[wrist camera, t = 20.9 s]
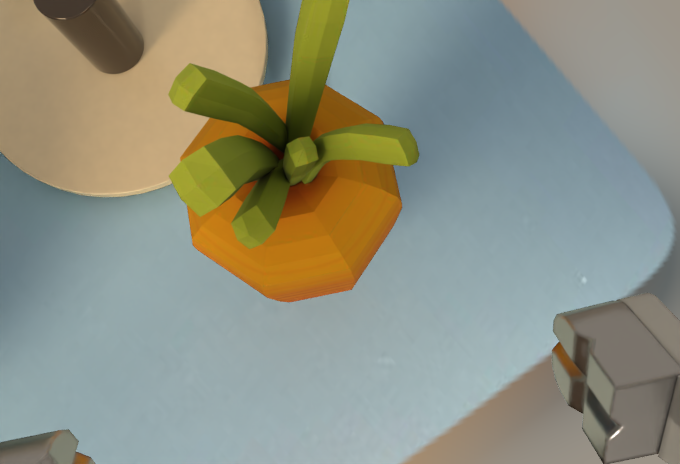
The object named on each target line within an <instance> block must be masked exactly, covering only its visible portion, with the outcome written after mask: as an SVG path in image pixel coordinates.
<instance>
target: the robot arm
mask: <svg viewBox="0 0 680 464" xmlns="http://www.w3.org/2000/svg"><path fill="white" fill-rule="evenodd" d="M553 332H554V334H555V335H556V337H557V338H558V340H559V342H558V344H557V345H556V346H555V347H554V349H553V350H552V367H553V371H554V375H555V380H556V382H557V385H558V387H559V389H560V391H561V393H562V395H563V397H564V399H565V400H566V402H567V404H568V405H569V406H570V407H572V408H574V409H576V410H577V411H579V412H581V413H583V423H582V429H583V431H584V432H585V434H586V436H587V437H588V439H589V441H590V442H591V444H592V446H593V447H594V449H595V451H596V452H597V454H598V456H599V457H600V459H601V461H602V462H603V464H610V463H614V462H619V461H624V460H629V459H635V458H639V457H644V456H649V455H654V454H659V455H658V457H659V458H661V459H662V460H664V461H665V462H667V463H668V464H680V321H679V320H678V318H677V317H676V316H675V315H673V313H672V312H671V311H670V310H669V309H668V308H667V307H666V306H665V305H664V304H663V303H662V302H661V301H660V300H659V299H658V298H657V297H656V296H654V295H652V294H650V293H643V294H639V295H635V296H631V297H627V298H622V299H618V300H616V301H609V302H605V303H601V304H596V305H592V306H588V307H584V308H580V309H576V310H572V311H568V312H564V313H560V314H557V315H556V317H555V319H554V323H553ZM78 442H79V441H78V440H77V439H76V437H75V436H74V435H73V434H72V433H71V432H70V430H69V429H68V430H58V431H53V432H48V433H43V434H38V435H34V436H29V437H24V438H19V439H14V440H9V441H4V442H1V443H0V464H95V462H94V461H93V460H92V458H91V457H89V456H86V455H84V454H81V453H79V452H76V449H77V446H78Z"/></svg>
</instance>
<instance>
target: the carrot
mask: <svg viewBox="0 0 680 464" xmlns="http://www.w3.org/2000/svg"><path fill="white" fill-rule="evenodd" d="M348 4H349V0H302V4H301V8H300V13H299V18H298V23H297V27H296V32H295V39H294V48H293V57H292V66H291V75H290V80H285V81H280V82H275V83H270V84H265V85H260V86H255V87H248V86H246V85H245V84H243V83H241V82H239V81H237V80H234V79H232V78H230V77H228V76H226V75H223V74H221V73H219V72H217V71H215V70H212V69H208V68H205V67H201V66H198V65H195V64H191V63H189V64H188V65H187V66H186V67H185V68H184V69H183V70H182V71H181V72H180V73H179V74H178V75H177V76H176V77H175V80H174V82H173V84H172V87H171V89H170V91H169V94H168V95H169V97H170V99H171V101H172V104H174V105H175V106H177V107H179V108H180V109H182V110H183V111H186V112H189V113H193V114H197V115H201V116H205V117H209V119H208V121H207V122H206V124H205V125H204V126H203V128H202V129H201V130H200V132H199V133H198V134H197V136H196V137H195V138H194V140H193V141H192V142H191V144H190V145H189V146H188V148H187V149H186V150H185V152H184V153H183V154H182V156H181V157H180V163H179V164H178V165H177V167H176V168H175V169H174V170H173V171H172V172H171V173H170V175H169V178H170V180H171V182H172V183H173V185H174V187H175V189H176V191H177V193H178V194H179V196H180V198H181V200H183V201H184V202H185V203H186V204H187V209H188V216H189V222H190V229H191V236H192V242H193V246H194V247H195V248H196V249H197V250H198V251H200V252H201V253H203V254H204V255H206V256H207V257H209V258H210V259H212V260H213V261H215V262H216V263H217V264H219V265H220V266H222V267H223V268H225V269H226V270H228V271H229V272H231V273H232V274H234V275H235V276H237V277H238V278H240V279H241V280H242V281H244V282H245V283H247V284H248V285H250V286H251V287H253V288H254V289H256V290H257V291H259V292H260V293H262V294H263V295H264V296H266V297H267V298H271V299H274V300H277V301H281V302H294V301H298V300H303V299H308V298H313V297H318V296H323V295H328V294H333V293H338V292H343V291H348V290H352V288H353V287H354V285H355V284H356V282H357V281H358V279H359V278H360V276H361V275H362V273H363V272H364V270H365V269H366V267H367V266H368V264H369V263H370V261H371V260H372V258H373V257H374V255H375V254H376V252H377V250H378V249H379V247H380V246H381V244H382V243H383V241H384V240H385V238H386V237H387V235H388V234H389V232H390V230H391V229H392V227H393V226H394V224H395V222H396V220H397V217H398V215H399V213H400V211H401V209H402V202H401V198H400V193H399V189H398V185H397V180H396V176H395V171H394V167H393V165H399V166H411V165H413V164H414V163H416V162H417V160H418V158H419V151H418V147H417V142H416V140H415V139H414V137H413V135H412V134H411V132H410V130H409V129H407V128H402V127H397V126H392V125H384V124H383V121H382V120H381V119H380V118H379V117H378V116H376V115H374V114H373V113H371V112H369V111H368V110H366V109H364V108H363V107H361V106H359V105H358V104H356V103H355V102H353V101H351V100H350V99H348V98H346V97H345V96H343V95H341V94H340V93H338V92H336V91H335V90H333V89H332V88H330V87H328V86H327V85H325V83H326V80H327V77H328V73H329V70H330V67H331V63H332V60H333V56H334V53H335V50H336V47H337V44H338V40H339V37H340V34H341V31H342V28H343V25H344V21H345V17H346V12H347V8H348Z"/></svg>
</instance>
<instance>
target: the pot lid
mask: <svg viewBox="0 0 680 464" xmlns="http://www.w3.org/2000/svg"><path fill="white" fill-rule="evenodd" d="M267 61H268V35H267V27H266V21H265V18H264V14H263V11H262V7H261V4H260V0H0V152H1V153H2V154H3V155H4V156H5V157H6V158H7V159H8V160H9V161H10V162H12V163H13V164H14V165H16V166H17V167H18V168H19V169H21V170H22V171H23V172H25V173H27V174H28V175H30V176H32V177H34V178H35V179H37V180H39V181H41V182H43V183H45V184H47V185H50V186H52V187H55V188H58V189H60V190H63V191H67V192H71V193H75V194H79V195H85V196H94V197H123V196H130V195H136V194H142V193H146V192H149V191H153V190H156V189H160V188H163V187H165V186H167V185H170V184H172V182H171V180H170V178H169V175H170V173H171V172H172V171H173V170H174V169H175V168H176V167H177V165H178V164H179V163H180V157H181V156H182V154H183V153H184V152H185V150H186V149H187V148H188V146H189V145H190V144H191V142H192V141H193V140H194V138H195V137H196V136H197V134H198V133H199V132H200V130H201V129H202V128H203V126H204V125H205V124H206V122H207V121H208V119H209V117H205V116H201V115H197V114H193V113H189V112H186V111H183V110H182V109H180V108H179V107H177V106H175V105H174V104H172V101H171V99H170V97H169V95H168V94H169V91H170V89H171V87H172V84H173V82H174V80H175V77H176V76H177V75H178V74H179V73H180V72H181V71H182V70H183V69H184V68H185V67H186V66H187V65H188V64H189V63H191V64H195V65H198V66H201V67H205V68H208V69H212V70H215V71H217V72H219V73H221V74H223V75H226V76H228V77H230V78H232V79H234V80H237V81H239V82H241V83H243V84H245V85H246V86H248V87H255V86H260V85H263V81H264V78H265V74H266V67H267Z"/></svg>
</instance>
